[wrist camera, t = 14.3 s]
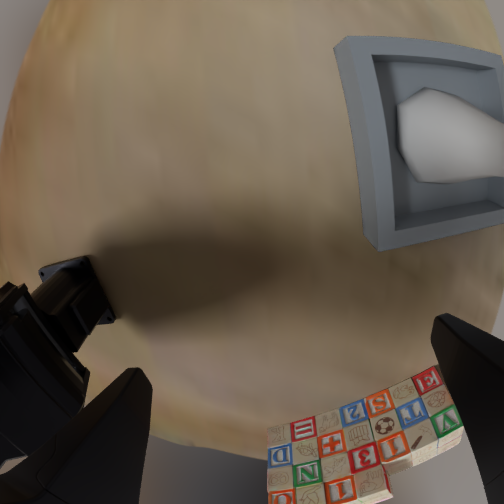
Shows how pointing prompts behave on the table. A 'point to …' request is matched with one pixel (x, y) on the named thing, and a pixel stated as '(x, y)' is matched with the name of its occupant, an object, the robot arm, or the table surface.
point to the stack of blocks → (362, 444)
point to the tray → (385, 136)
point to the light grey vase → (448, 138)
